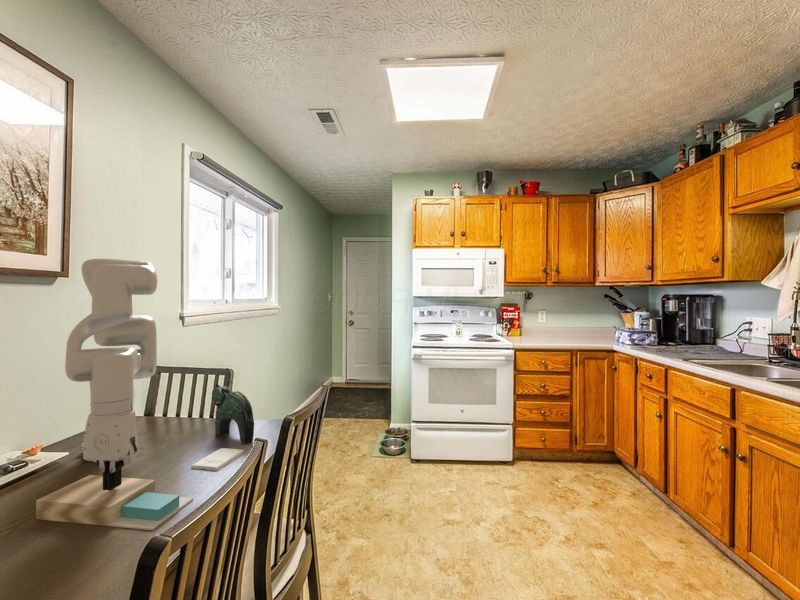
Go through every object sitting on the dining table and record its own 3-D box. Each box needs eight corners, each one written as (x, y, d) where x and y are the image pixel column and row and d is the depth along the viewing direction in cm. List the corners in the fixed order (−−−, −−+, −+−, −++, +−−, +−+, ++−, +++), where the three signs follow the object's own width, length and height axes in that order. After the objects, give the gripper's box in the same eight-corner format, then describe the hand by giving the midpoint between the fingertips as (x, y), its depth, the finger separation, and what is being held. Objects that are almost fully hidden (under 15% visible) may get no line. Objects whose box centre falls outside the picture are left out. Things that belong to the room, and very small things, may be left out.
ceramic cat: (209, 434, 132) (209, 378, 132) (226, 429, 137) (227, 375, 137) (242, 447, 121) (242, 385, 121) (259, 441, 126) (259, 381, 126)
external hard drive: (243, 455, 116) (216, 472, 104) (220, 452, 118) (190, 470, 105) (243, 449, 116) (216, 466, 104) (220, 447, 118) (191, 464, 105)
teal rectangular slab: (121, 517, 80) (121, 506, 80) (144, 502, 86) (144, 492, 86) (158, 521, 79) (158, 509, 79) (179, 505, 85) (179, 495, 85)
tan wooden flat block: (36, 519, 80) (36, 500, 80) (89, 491, 92) (89, 475, 92) (109, 526, 78) (109, 506, 78) (155, 496, 90) (155, 479, 90)
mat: (109, 526, 78) (109, 524, 78) (155, 496, 90) (155, 494, 90) (152, 530, 76) (152, 528, 76) (193, 499, 88) (193, 498, 88)
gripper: (67, 409, 82) (66, 493, 82) (128, 412, 80) (127, 498, 80) (99, 400, 90) (98, 477, 90) (155, 403, 88) (154, 481, 88)
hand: (112, 487), depth 85 cm, fingers closed
